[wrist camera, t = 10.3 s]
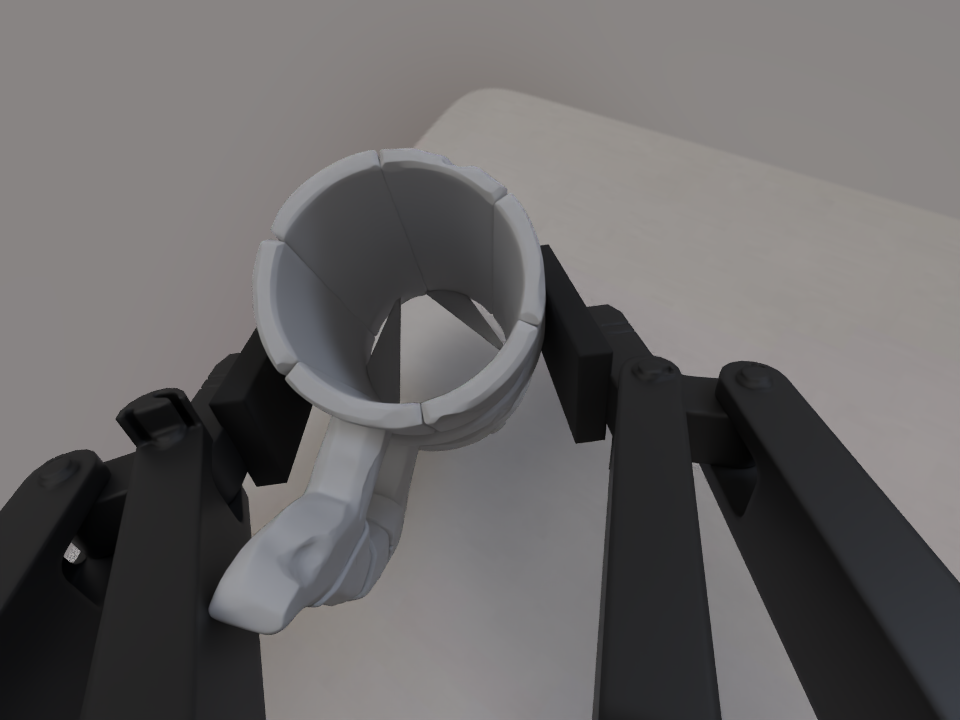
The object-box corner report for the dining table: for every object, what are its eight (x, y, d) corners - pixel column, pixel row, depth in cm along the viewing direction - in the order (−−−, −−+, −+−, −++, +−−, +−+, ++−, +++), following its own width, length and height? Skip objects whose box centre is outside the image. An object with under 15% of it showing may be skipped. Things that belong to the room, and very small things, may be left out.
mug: (548, 298, 20) (651, 87, 8) (475, 575, 18) (465, 854, 6) (383, 254, 20) (241, -11, 8) (293, 521, 18) (-65, 679, 6)
